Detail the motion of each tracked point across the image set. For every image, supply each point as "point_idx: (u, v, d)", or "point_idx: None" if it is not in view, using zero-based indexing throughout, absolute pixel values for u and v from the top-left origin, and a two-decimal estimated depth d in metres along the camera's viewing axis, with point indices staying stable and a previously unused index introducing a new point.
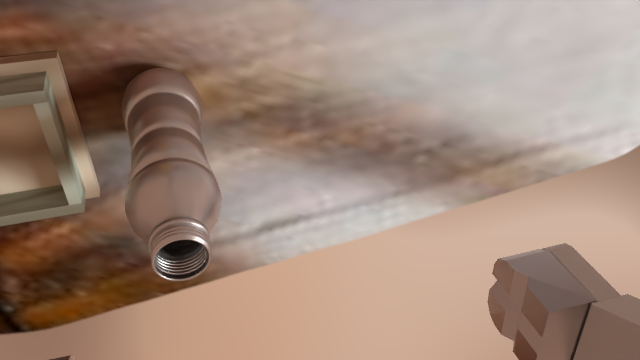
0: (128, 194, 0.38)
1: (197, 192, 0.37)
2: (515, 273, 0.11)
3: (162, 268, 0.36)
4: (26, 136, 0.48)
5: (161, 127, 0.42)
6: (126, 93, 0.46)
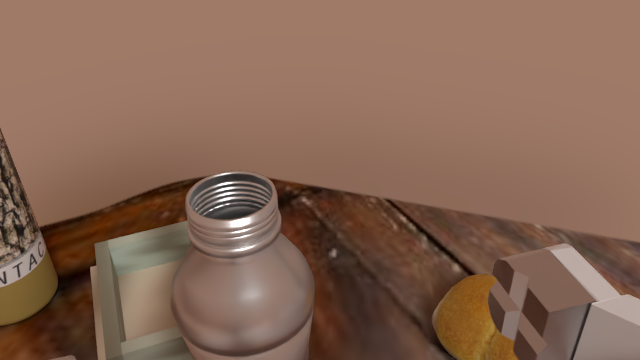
0: None
1: (294, 273, 0.25)
2: (515, 273, 0.11)
3: (201, 196, 0.25)
4: None
5: None
6: None
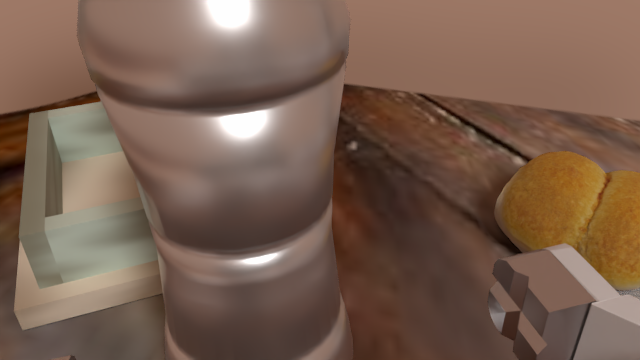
0: None
1: None
2: (515, 273, 0.11)
3: None
4: None
5: None
6: None
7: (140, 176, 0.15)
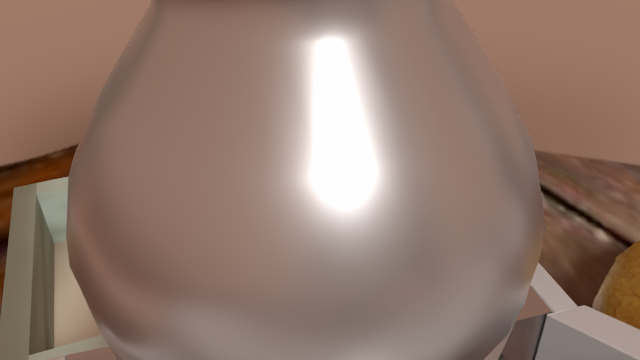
0: None
1: (511, 116, 0.07)
2: None
3: None
4: None
5: None
6: None
7: None
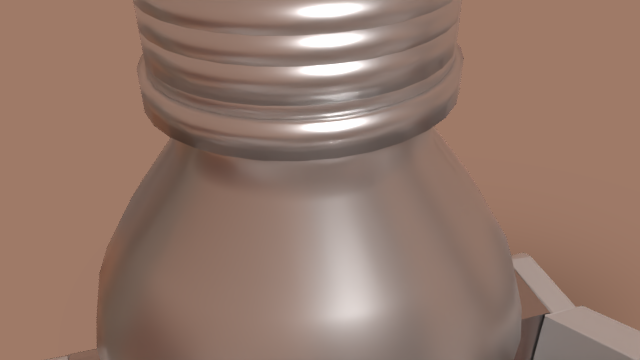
0: None
1: (485, 248, 0.08)
2: None
3: None
4: None
5: None
6: None
7: None
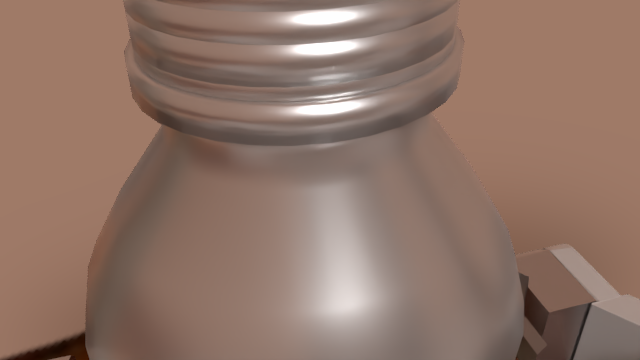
0: None
1: (487, 240, 0.07)
2: None
3: None
4: None
5: None
6: None
7: None
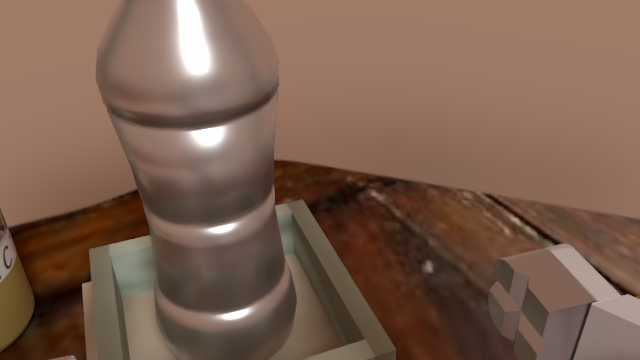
0: None
1: (247, 31, 0.20)
2: (515, 273, 0.11)
3: None
4: None
5: None
6: None
7: (133, 167, 0.22)
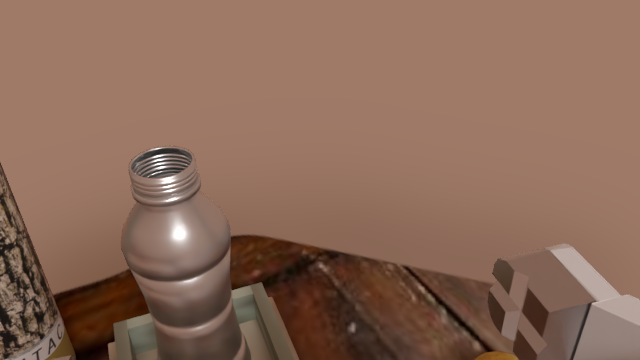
0: None
1: (208, 224, 0.34)
2: (515, 273, 0.11)
3: (144, 163, 0.34)
4: None
5: None
6: None
7: (143, 294, 0.36)
